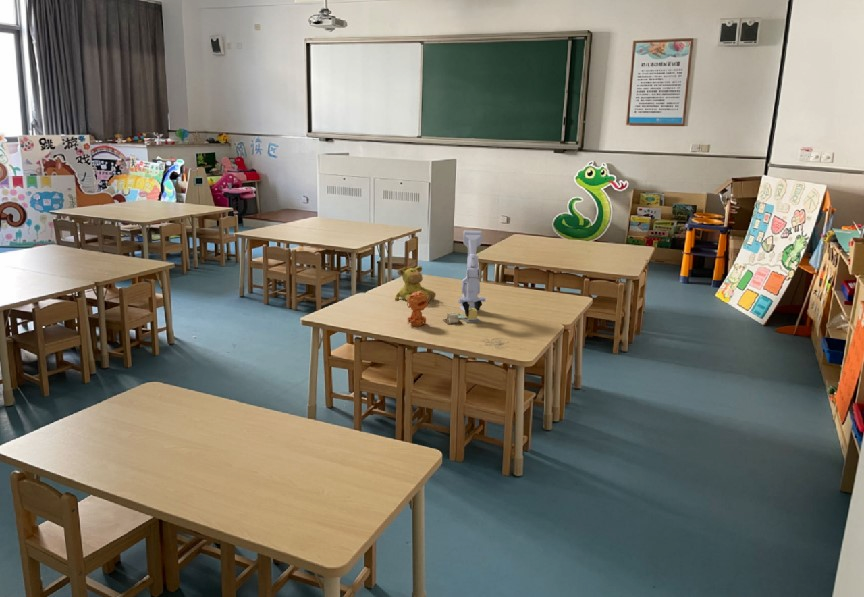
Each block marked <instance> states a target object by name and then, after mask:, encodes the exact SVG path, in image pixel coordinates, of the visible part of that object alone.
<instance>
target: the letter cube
mask: <svg viewBox="0 0 864 597" xmlns="http://www.w3.org/2000/svg"><path fill="white" fill-rule="evenodd" d="M465 317H466V318H468V319H477V318H478V314H477V310H476V309H475V308H469V314H468V316H466V315H465Z"/></svg>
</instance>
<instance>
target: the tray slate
mask: <svg viewBox="0 0 864 597" xmlns="http://www.w3.org/2000/svg"><path fill="white" fill-rule="evenodd" d="M461 320H463V322H465V323H466V324H472V323H481V321H482V320H481V319H479V318H478V317H477V319H468V318H466V316H465V317H463V318H462V319H461Z"/></svg>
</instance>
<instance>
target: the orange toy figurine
mask: <svg viewBox="0 0 864 597" xmlns="http://www.w3.org/2000/svg"><path fill="white" fill-rule="evenodd" d="M421 291H422V290H421ZM421 291H418V292H414V293H412V295H410V296H409V297H408V299H409V302H408V299H407V300H406V306H407V307H408V309H411V315H410V316H408V317H407V325H408V324H410V325H411V326H412V325H413V326H412V327H415V326H417V327H421V325H422V326H423V325H426V324H427V317H426V316H423V312H422V311H424V310H425V309H426V308H427V306H428V303H429V302H430V301H424V300H426V299H427V296H426V294H424V293H423V292H421Z"/></svg>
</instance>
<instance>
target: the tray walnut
mask: <svg viewBox="0 0 864 597" xmlns="http://www.w3.org/2000/svg"><path fill="white" fill-rule="evenodd" d="M442 321H443V322H444V323H445V324H447V325H448V326H450V325H461V324H463V321H461V319H458V322H455V323H448V322H447V318H443V319H442Z"/></svg>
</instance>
